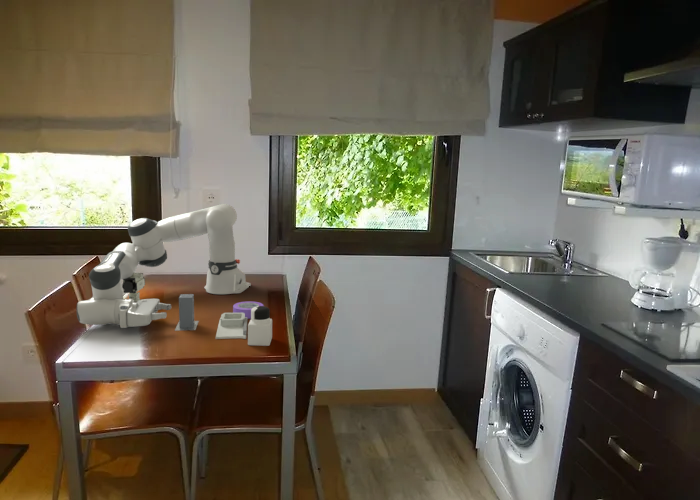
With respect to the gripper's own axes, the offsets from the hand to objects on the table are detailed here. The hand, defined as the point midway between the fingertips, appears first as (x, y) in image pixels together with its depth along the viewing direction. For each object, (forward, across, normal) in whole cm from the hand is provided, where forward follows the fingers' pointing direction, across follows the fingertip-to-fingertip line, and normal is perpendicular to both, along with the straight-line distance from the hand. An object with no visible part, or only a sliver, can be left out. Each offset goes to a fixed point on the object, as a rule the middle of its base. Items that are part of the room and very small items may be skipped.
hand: (168, 311), depth 176 cm
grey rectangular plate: (+6, 0, -6) cm, 9 cm away
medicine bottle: (+32, +17, -6) cm, 37 cm away
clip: (+6, 0, -6) cm, 8 cm away
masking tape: (+28, -13, -6) cm, 31 cm away
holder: (+22, +4, -6) cm, 23 cm away
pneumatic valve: (-19, -33, -6) cm, 39 cm away
